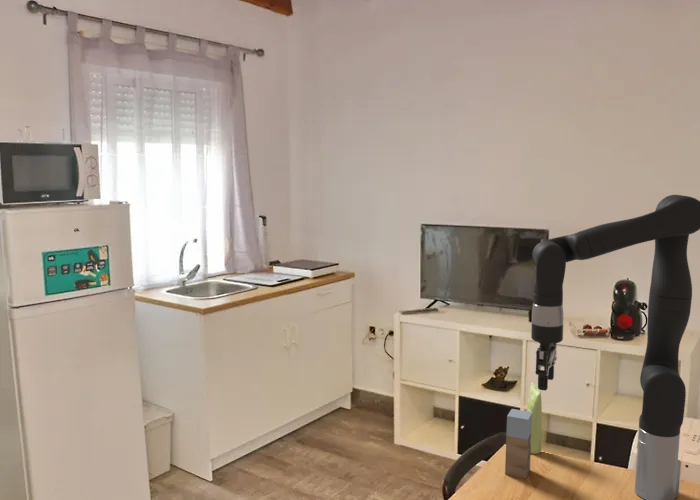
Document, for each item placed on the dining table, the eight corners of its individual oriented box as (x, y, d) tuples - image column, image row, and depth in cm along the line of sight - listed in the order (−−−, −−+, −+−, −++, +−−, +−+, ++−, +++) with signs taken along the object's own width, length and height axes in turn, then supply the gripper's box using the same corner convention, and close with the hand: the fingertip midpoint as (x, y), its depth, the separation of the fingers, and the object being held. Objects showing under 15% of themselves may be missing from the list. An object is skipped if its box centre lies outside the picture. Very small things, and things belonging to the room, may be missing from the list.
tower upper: (510, 446, 173) (510, 427, 172) (530, 450, 171) (531, 431, 170) (505, 455, 168) (506, 435, 168) (526, 459, 166) (527, 439, 165)
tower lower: (509, 465, 174) (510, 446, 173) (529, 470, 171) (530, 450, 171) (504, 474, 169) (505, 455, 168) (525, 479, 167) (526, 459, 166)
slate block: (511, 427, 172) (511, 408, 172) (531, 431, 170) (532, 412, 169) (506, 435, 168) (507, 415, 167) (527, 439, 165) (528, 419, 164)
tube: (546, 451, 183) (549, 386, 180) (537, 456, 179) (540, 391, 176) (529, 444, 187) (531, 381, 184) (519, 450, 183) (522, 385, 180)
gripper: (558, 330, 148) (556, 395, 151) (567, 316, 161) (566, 377, 163) (525, 326, 152) (524, 391, 154) (537, 314, 164) (536, 373, 167)
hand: (545, 384), depth 159 cm, fingers open, 8 cm apart
